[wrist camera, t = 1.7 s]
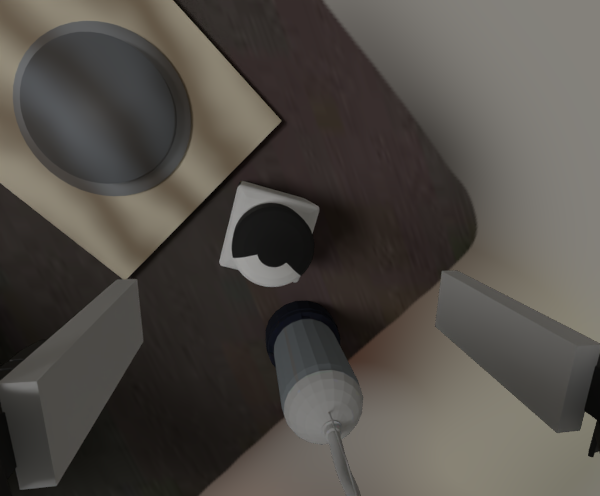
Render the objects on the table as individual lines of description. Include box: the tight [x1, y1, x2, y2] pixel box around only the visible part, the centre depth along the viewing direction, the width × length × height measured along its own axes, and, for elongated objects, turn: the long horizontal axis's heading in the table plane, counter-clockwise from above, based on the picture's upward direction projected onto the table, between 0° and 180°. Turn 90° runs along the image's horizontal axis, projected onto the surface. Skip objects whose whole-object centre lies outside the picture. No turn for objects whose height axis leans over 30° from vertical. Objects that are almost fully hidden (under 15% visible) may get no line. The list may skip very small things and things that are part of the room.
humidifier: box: [266, 301, 363, 496], centre depth 27 cm, size 8×8×25 cm
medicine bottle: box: [219, 181, 319, 287], centre depth 30 cm, size 7×7×12 cm
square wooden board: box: [0, 0, 281, 280], centre depth 30 cm, size 22×22×2 cm
